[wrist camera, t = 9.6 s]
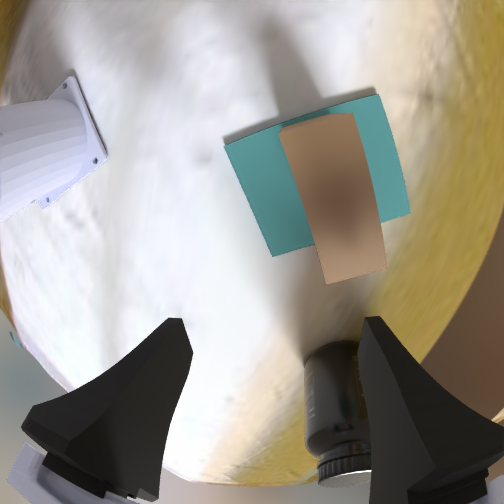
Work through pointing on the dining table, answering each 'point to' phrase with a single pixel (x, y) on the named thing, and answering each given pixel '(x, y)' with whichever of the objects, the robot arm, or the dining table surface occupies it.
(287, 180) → the teal mat
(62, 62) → the dining table surface
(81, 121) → the robot arm
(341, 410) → the supplement bottle
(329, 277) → the brown block
